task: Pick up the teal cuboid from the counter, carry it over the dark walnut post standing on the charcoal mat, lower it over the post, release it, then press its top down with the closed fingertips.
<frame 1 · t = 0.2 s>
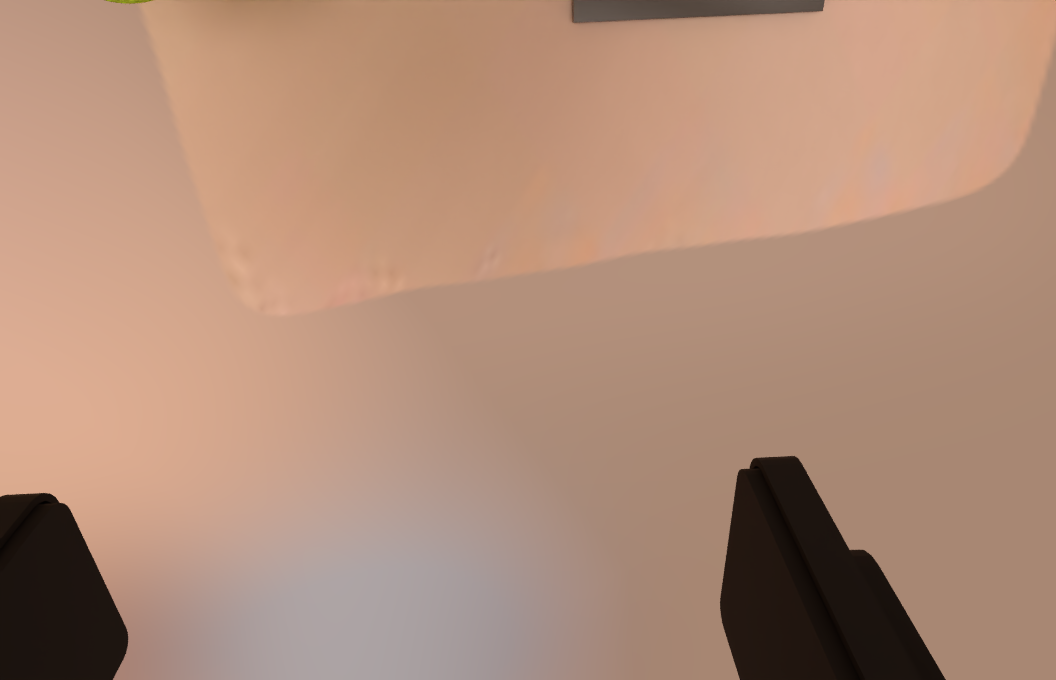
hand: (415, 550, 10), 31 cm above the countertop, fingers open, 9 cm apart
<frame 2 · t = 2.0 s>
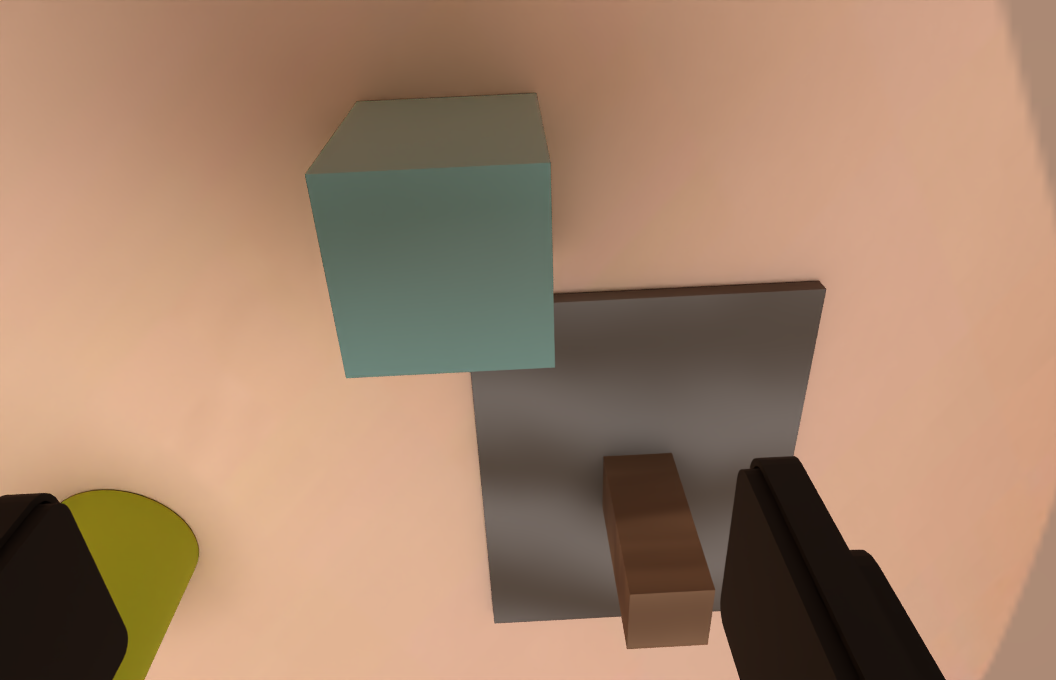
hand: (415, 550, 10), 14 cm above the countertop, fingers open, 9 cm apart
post: (633, 470, 29), on the countertop
teal cuboid: (454, 183, 22), on the countertop
soap dispenser: (118, 530, 30), on the countertop
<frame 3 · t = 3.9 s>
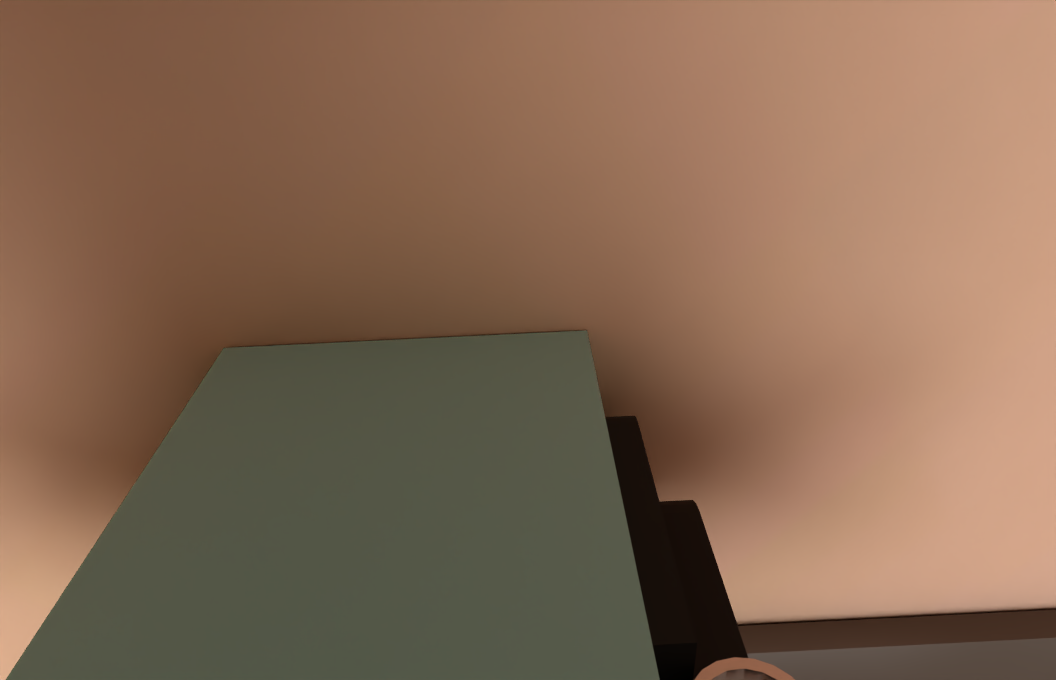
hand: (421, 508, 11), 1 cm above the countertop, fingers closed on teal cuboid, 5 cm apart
teal cuboid: (425, 478, 12), on the countertop, touching gripper
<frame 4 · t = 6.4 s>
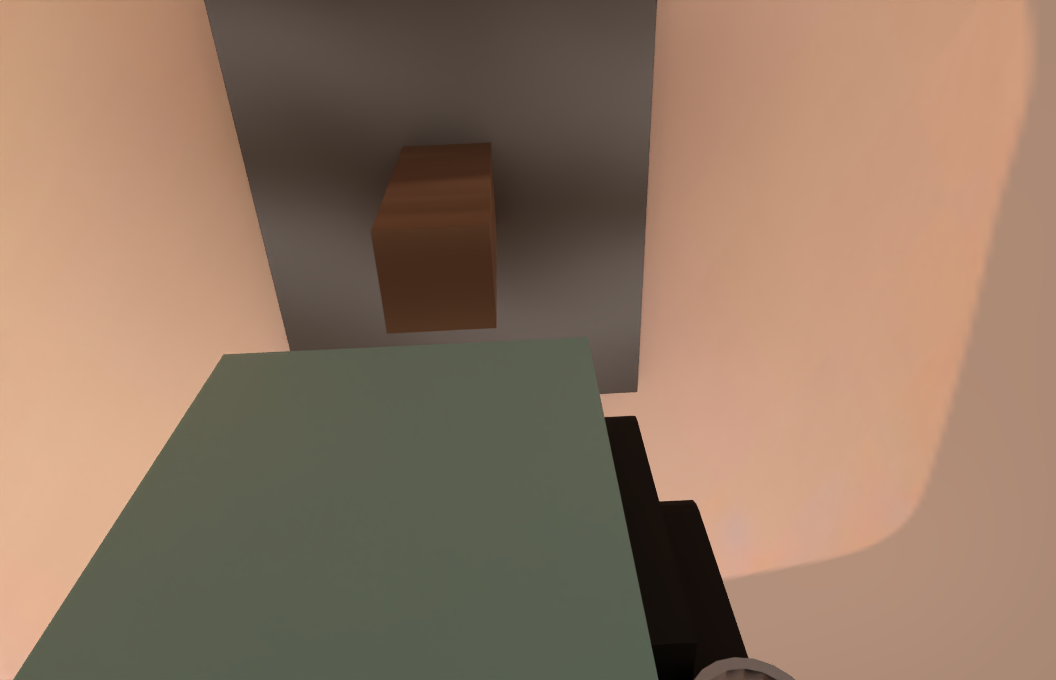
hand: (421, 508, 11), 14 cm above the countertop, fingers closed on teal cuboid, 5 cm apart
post: (452, 180, 22), on the countertop
teal cuboid: (425, 485, 12), point 13 cm above the countertop, touching gripper
when the fingers open (3 cm above the countertop, at t = 9.1 s): teal cuboid drops 1 cm, resting on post.
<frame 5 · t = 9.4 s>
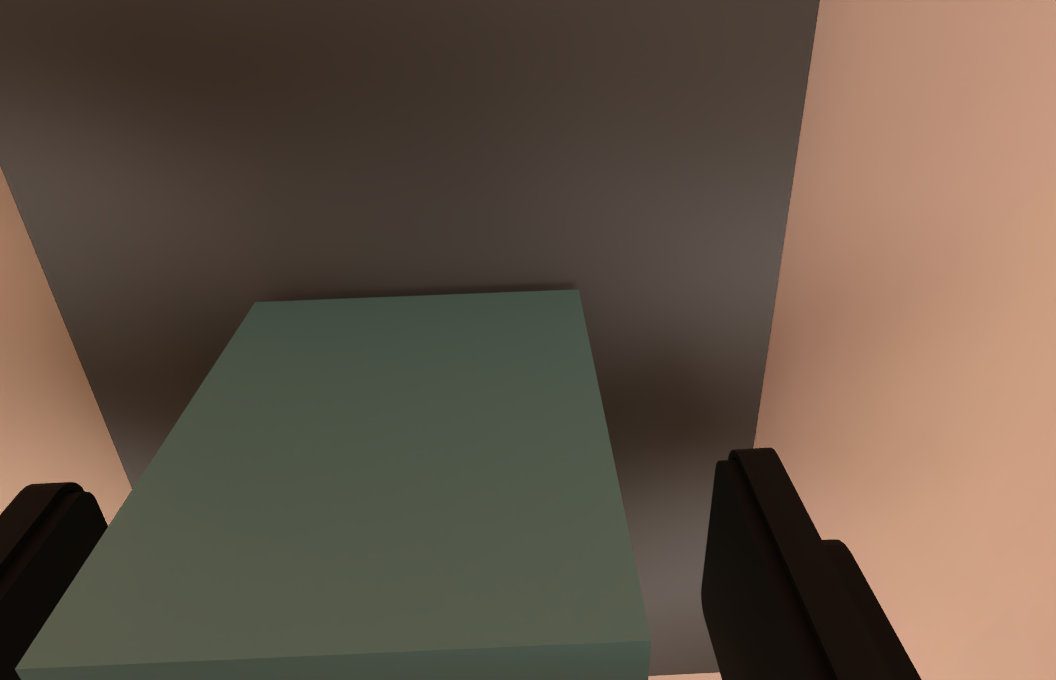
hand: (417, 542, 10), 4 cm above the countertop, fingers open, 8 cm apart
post: (437, 393, 14), on the countertop
teal cuboid: (432, 426, 13), point 1 cm above the countertop, touching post
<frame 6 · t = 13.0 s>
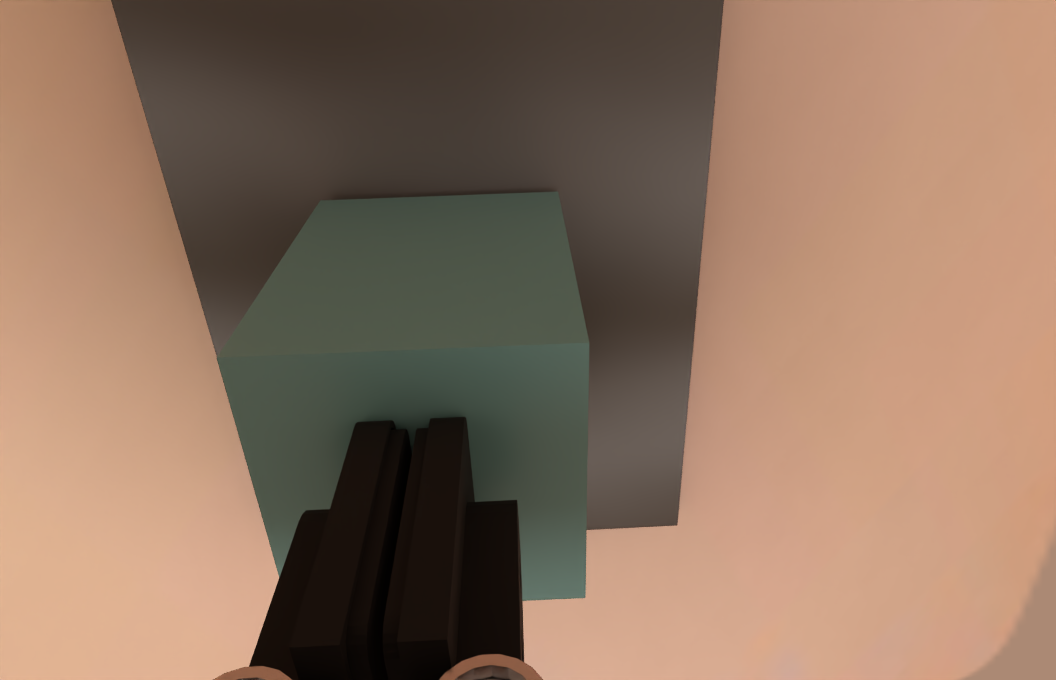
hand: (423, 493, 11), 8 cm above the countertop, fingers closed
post: (452, 282, 18), on the countertop
teal cuboid: (449, 301, 17), point 1 cm above the countertop, touching gripper, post
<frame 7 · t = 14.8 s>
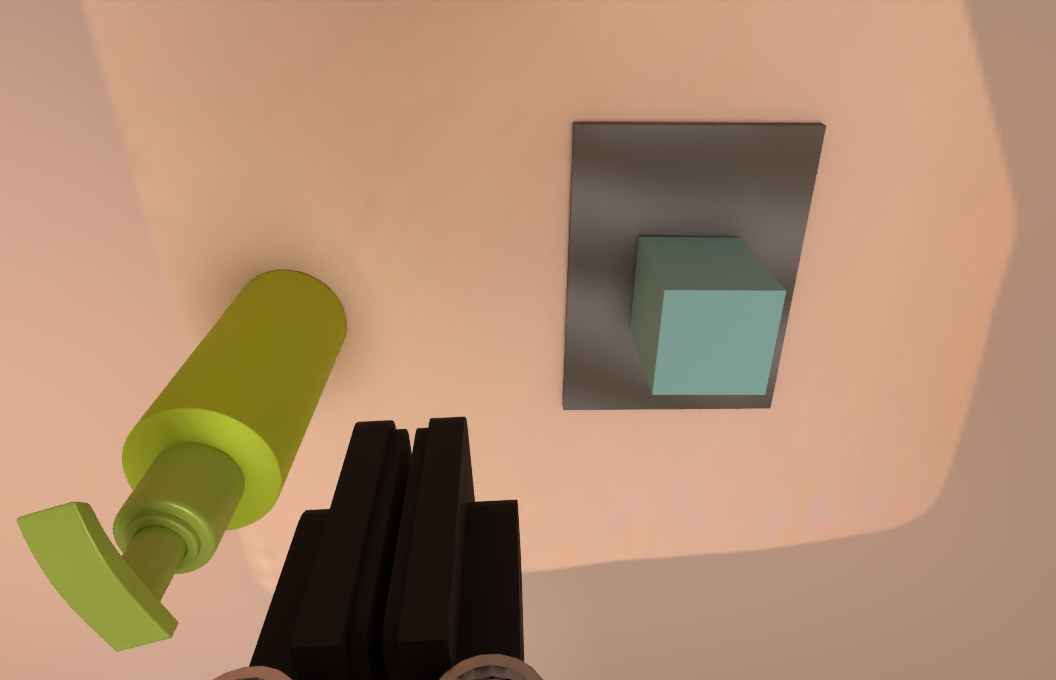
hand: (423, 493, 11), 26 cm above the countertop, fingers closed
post: (680, 276, 38), on the countertop
teal cuboid: (683, 284, 38), point 1 cm above the countertop, touching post
soap dispenser: (288, 310, 39), on the countertop
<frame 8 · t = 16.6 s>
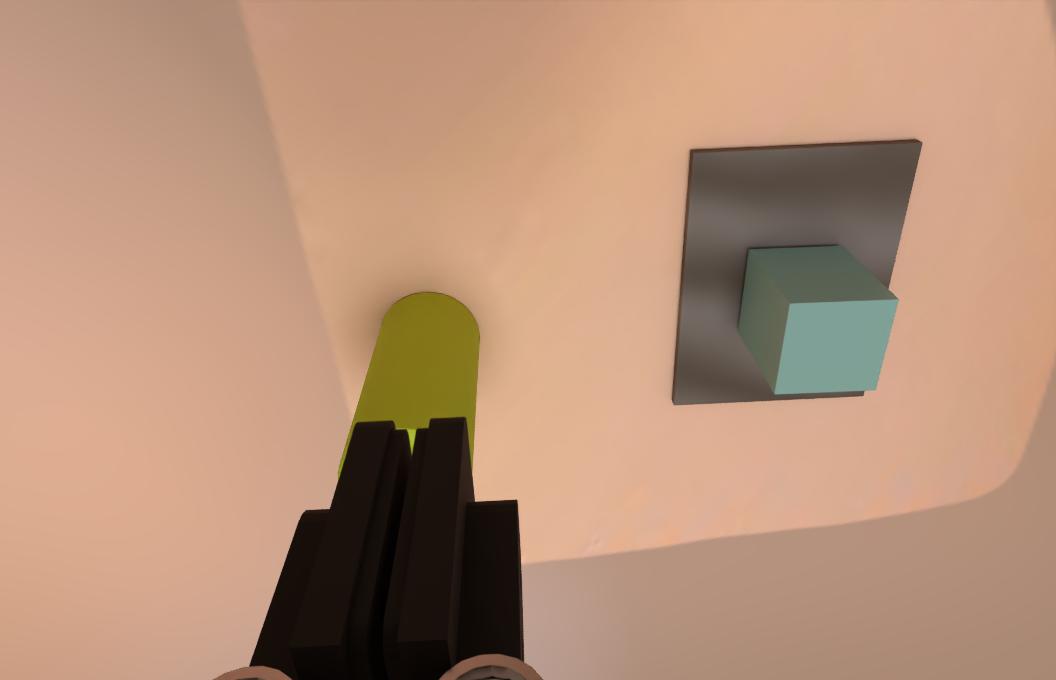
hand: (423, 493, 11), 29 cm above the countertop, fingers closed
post: (782, 281, 42), on the countertop
teal cuboid: (788, 289, 41), point 1 cm above the countertop, touching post
soap dispenser: (427, 327, 43), on the countertop
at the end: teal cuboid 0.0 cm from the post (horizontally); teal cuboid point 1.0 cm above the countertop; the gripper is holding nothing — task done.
